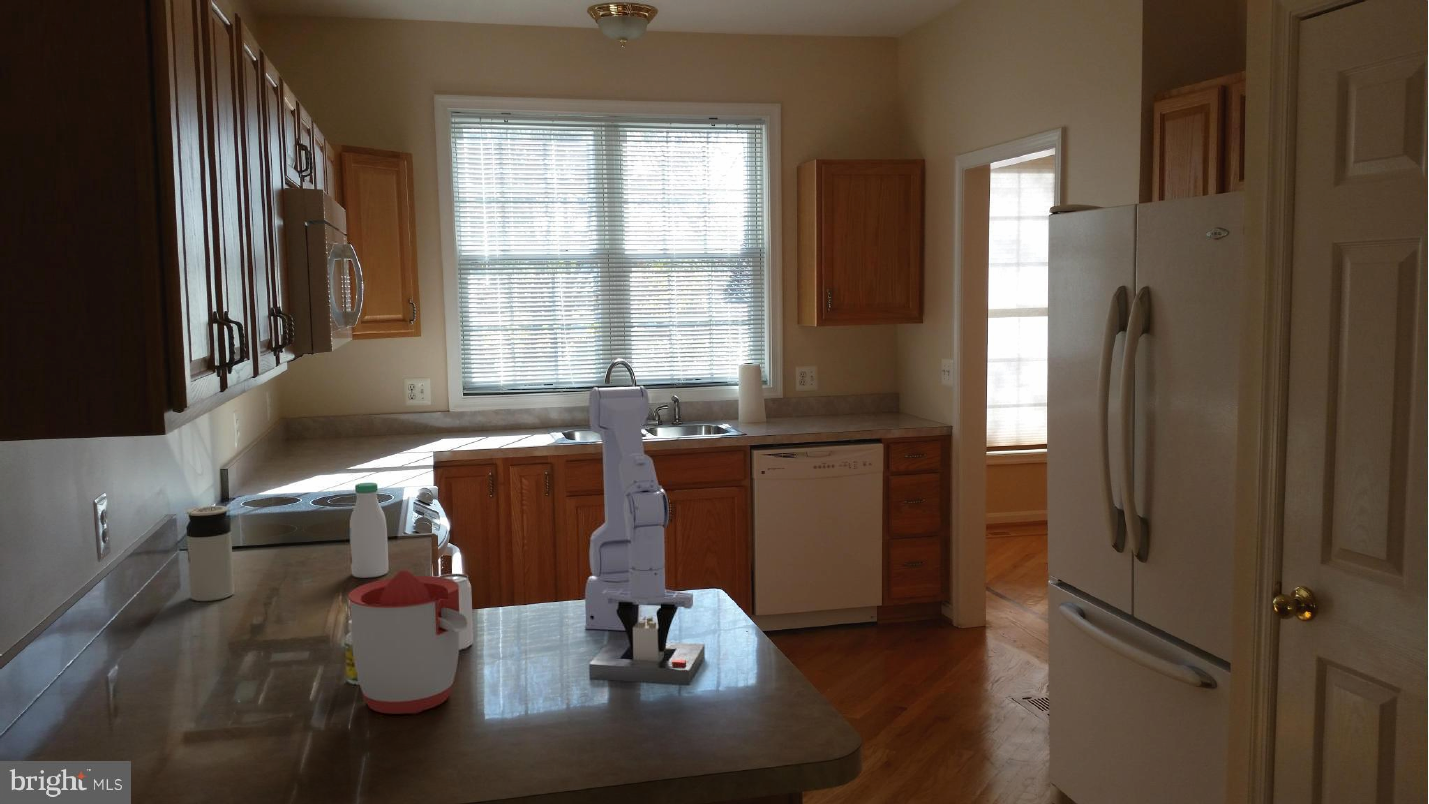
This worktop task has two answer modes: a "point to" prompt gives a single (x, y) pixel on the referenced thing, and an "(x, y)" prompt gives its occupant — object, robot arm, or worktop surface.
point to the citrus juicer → (406, 641)
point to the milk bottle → (368, 534)
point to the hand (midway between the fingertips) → (648, 649)
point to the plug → (646, 641)
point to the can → (464, 607)
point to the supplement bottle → (350, 658)
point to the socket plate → (648, 664)
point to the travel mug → (210, 554)
